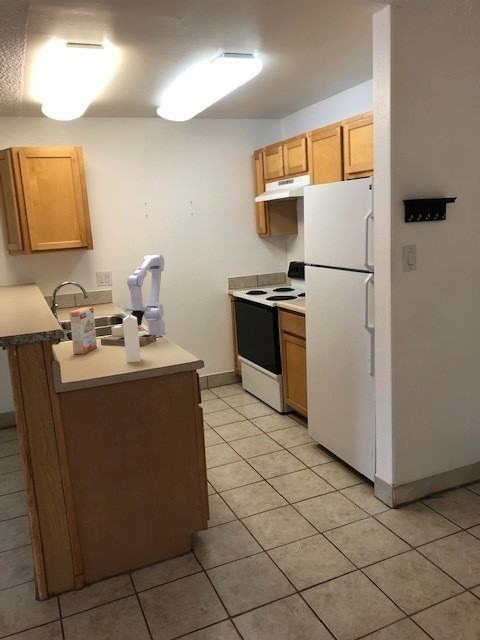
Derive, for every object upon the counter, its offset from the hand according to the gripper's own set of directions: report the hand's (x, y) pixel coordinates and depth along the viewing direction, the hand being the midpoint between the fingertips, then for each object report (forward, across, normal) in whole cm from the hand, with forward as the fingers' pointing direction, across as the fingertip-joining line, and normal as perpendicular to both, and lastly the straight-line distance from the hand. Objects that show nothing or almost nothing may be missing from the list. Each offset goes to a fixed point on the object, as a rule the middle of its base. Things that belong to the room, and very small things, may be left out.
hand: (139, 325), depth 272 cm
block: (+6, -16, +4) cm, 18 cm away
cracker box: (+10, -19, -20) cm, 29 cm away
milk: (+10, +17, -32) cm, 37 cm away
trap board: (+9, -7, 0) cm, 12 cm away
